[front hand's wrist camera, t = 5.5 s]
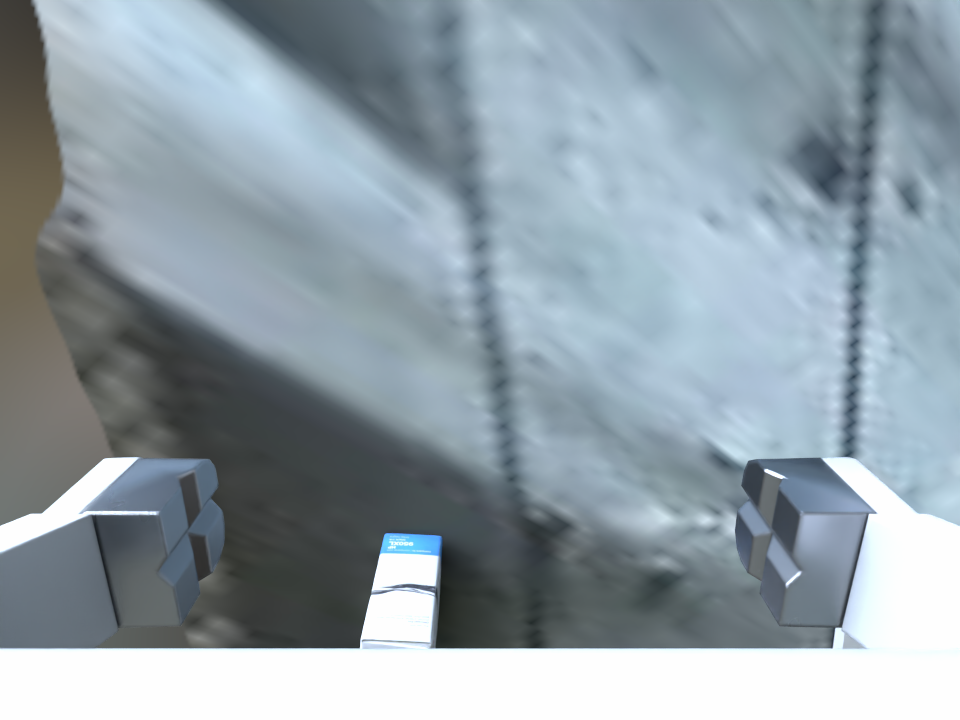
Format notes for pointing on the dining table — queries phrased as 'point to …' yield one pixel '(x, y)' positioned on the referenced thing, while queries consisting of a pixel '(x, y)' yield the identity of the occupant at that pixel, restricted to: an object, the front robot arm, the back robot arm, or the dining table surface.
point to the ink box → (405, 594)
